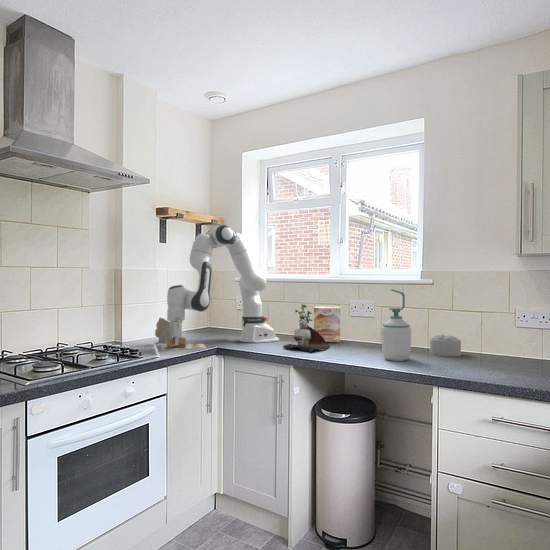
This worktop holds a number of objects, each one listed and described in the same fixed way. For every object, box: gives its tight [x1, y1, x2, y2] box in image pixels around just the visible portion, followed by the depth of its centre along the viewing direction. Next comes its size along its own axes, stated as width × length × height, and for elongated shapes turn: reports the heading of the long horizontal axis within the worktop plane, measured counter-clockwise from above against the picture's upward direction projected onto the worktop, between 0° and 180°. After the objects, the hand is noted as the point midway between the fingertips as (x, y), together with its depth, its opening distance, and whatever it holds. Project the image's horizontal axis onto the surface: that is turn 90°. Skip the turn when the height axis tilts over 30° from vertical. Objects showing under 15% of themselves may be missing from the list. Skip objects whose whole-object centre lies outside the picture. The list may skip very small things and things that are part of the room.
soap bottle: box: [381, 288, 412, 362], centre depth 188 cm, size 12×12×31 cm
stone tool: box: [154, 316, 173, 343], centre depth 234 cm, size 11×4×15 cm, turn 77°
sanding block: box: [166, 336, 187, 348], centre depth 217 cm, size 9×5×4 cm, turn 109°
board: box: [160, 343, 207, 351], centre depth 218 cm, size 22×13×1 cm, turn 109°
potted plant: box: [282, 304, 331, 353], centre depth 220 cm, size 20×19×25 cm
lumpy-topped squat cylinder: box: [429, 334, 462, 357], centre depth 199 cm, size 10×13×9 cm
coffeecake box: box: [313, 306, 342, 343], centre depth 242 cm, size 15×7×20 cm, turn 80°
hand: (176, 343), depth 217 cm, fingers closed on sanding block, 5 cm apart
